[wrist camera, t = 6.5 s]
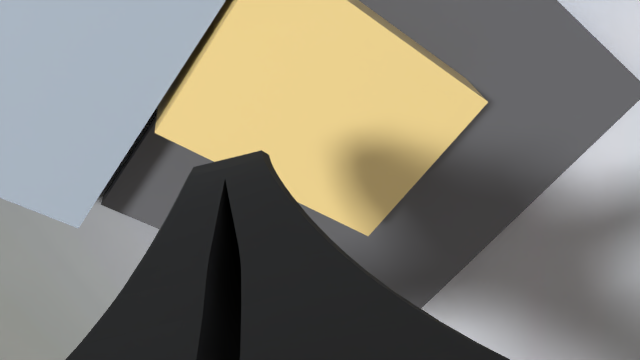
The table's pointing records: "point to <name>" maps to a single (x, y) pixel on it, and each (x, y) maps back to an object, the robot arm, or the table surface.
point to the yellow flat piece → (319, 102)
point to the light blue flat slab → (84, 91)
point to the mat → (466, 150)
